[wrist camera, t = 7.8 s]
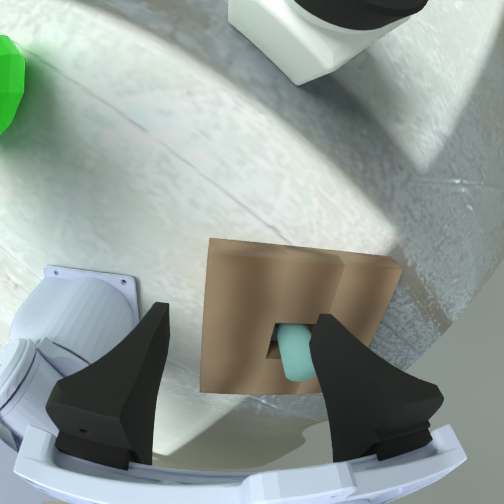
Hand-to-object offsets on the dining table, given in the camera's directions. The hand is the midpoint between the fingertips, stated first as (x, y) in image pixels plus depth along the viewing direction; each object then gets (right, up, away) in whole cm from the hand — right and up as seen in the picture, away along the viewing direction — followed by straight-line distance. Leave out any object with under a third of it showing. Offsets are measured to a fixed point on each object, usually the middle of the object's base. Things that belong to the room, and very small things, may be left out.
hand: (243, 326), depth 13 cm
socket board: (+4, -3, +13) cm, 14 cm away
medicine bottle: (+4, +19, +2) cm, 20 cm away
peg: (+4, -3, +13) cm, 14 cm away
